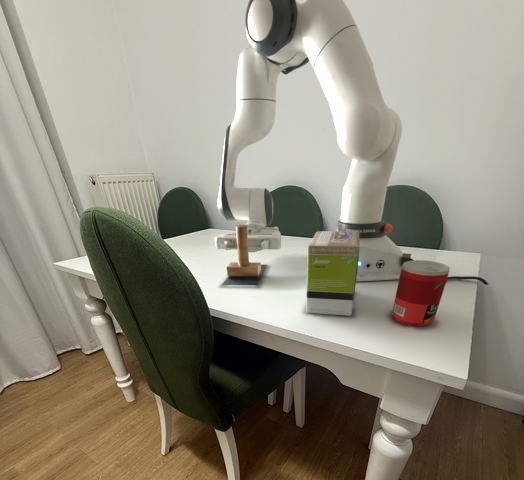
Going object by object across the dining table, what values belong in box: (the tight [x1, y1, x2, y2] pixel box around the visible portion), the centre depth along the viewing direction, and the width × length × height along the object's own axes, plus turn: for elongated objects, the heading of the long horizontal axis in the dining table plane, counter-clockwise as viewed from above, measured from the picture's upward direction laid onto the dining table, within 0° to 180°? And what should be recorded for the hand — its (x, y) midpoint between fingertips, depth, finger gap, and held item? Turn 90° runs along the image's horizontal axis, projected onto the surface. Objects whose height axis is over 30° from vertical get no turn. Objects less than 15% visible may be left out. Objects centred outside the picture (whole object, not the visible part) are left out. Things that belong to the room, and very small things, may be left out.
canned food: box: [391, 259, 451, 328], centre depth 57 cm, size 8×8×11 cm
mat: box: [221, 264, 268, 286], centre depth 88 cm, size 10×20×1 cm, turn 172°
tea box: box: [305, 230, 360, 316], centre depth 65 cm, size 15×10×15 cm, turn 164°
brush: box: [226, 224, 262, 279], centre depth 82 cm, size 9×5×14 cm, turn 81°
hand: (243, 247), depth 82 cm, fingers open, 8 cm apart
